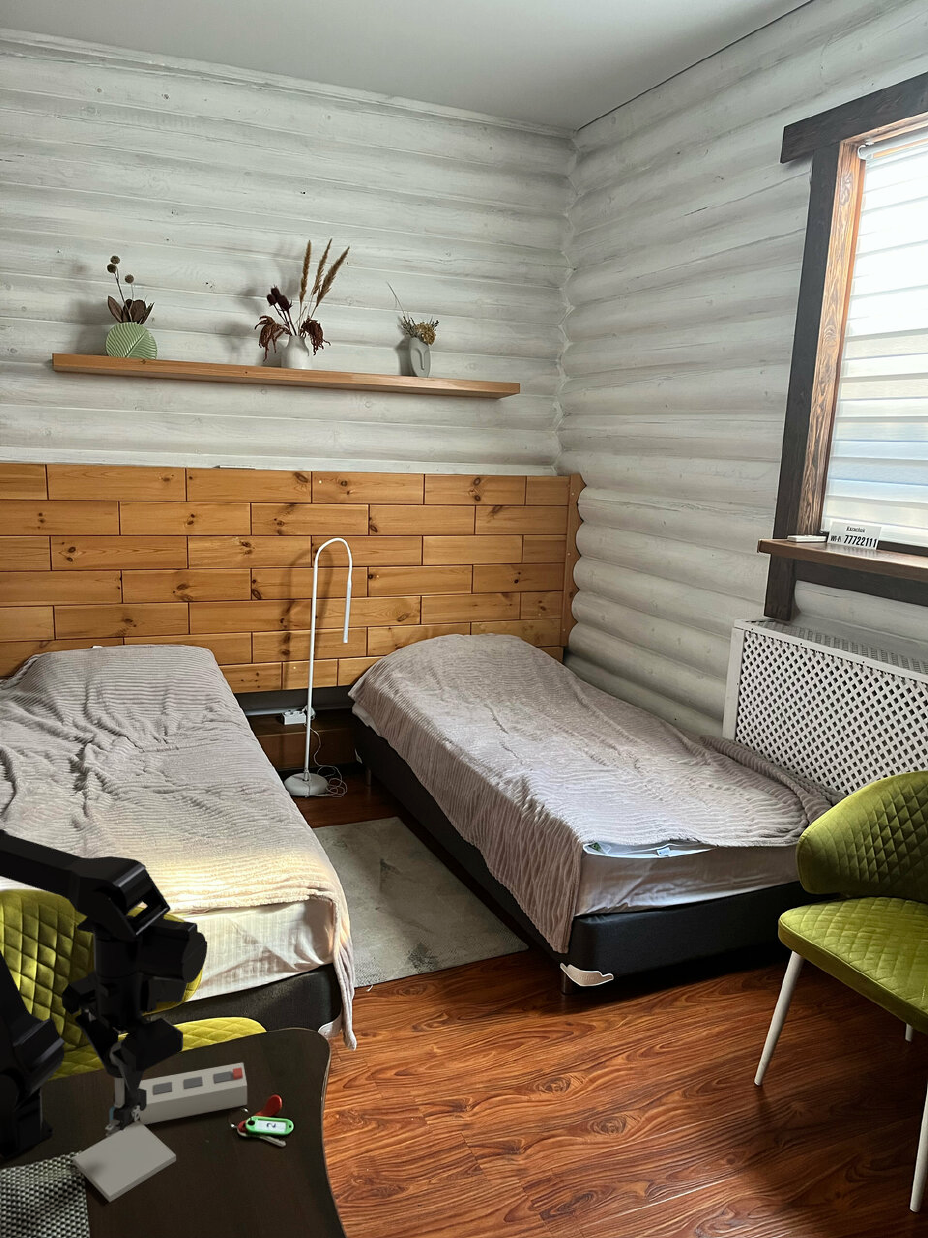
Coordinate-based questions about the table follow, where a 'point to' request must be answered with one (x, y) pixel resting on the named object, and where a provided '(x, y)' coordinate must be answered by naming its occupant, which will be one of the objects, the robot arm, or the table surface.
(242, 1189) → the table surface
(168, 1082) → the power strip
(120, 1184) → the rubber mat
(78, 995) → the robot arm
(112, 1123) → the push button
